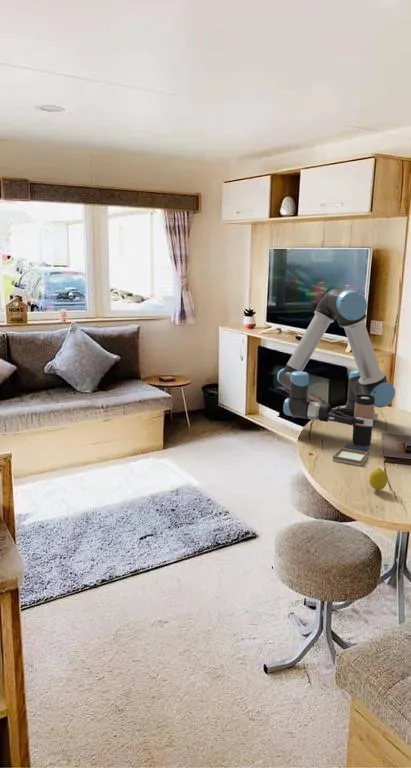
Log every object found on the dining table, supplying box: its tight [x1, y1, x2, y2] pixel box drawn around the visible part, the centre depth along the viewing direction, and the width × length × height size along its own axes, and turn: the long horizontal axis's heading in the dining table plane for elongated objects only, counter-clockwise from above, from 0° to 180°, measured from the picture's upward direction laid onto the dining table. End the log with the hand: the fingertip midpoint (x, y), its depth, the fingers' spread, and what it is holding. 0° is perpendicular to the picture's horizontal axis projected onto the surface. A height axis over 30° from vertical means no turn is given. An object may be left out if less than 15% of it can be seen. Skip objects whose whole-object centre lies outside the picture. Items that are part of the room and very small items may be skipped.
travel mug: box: [351, 394, 375, 447], centre depth 226 cm, size 8×8×20 cm
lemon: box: [368, 467, 388, 492], centre depth 183 cm, size 6×6×8 cm
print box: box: [332, 446, 369, 467], centre depth 212 cm, size 11×11×2 cm
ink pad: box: [342, 443, 372, 456], centre depth 220 cm, size 8×10×1 cm
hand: (375, 419), depth 223 cm, fingers open, 9 cm apart
